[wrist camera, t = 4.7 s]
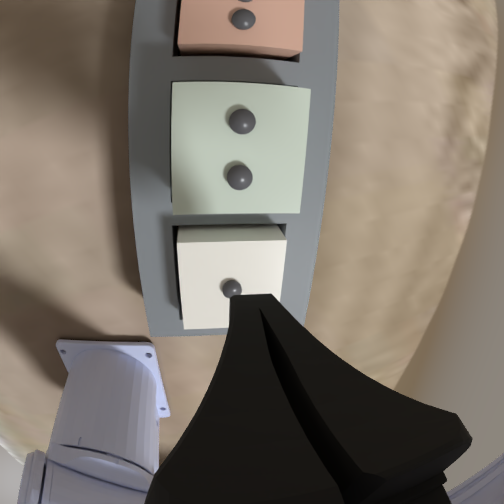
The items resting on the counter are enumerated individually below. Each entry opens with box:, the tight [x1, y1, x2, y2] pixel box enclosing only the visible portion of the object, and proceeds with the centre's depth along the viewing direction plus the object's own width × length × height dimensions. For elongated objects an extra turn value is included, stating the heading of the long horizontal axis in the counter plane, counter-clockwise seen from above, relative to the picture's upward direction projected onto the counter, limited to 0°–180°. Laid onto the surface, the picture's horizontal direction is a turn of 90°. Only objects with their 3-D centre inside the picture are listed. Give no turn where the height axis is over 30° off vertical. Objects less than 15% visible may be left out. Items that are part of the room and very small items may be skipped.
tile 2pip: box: [171, 82, 311, 215], centre depth 12 cm, size 5×5×4 cm
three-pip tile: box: [178, 0, 305, 61], centre depth 10 cm, size 5×5×4 cm
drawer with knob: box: [177, 224, 287, 329], centre depth 16 cm, size 5×5×4 cm
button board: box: [128, 0, 339, 337], centre depth 14 cm, size 21×9×3 cm, turn 177°
